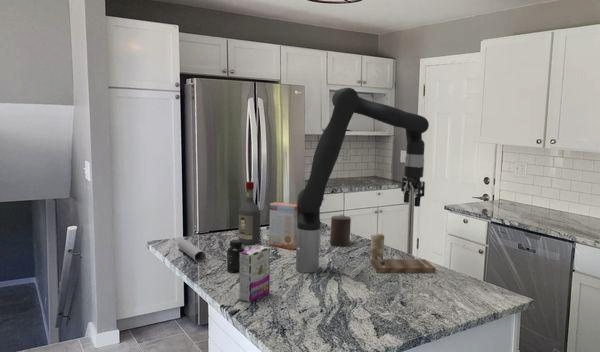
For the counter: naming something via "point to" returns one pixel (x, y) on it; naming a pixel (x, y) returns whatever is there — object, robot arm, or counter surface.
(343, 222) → the pillar candle
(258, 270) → the candy bar box
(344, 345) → the counter surface
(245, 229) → the liquor
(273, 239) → the cracker box
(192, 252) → the tube
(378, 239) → the marking gauge
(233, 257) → the supplement bottle
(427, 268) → the walnut board
